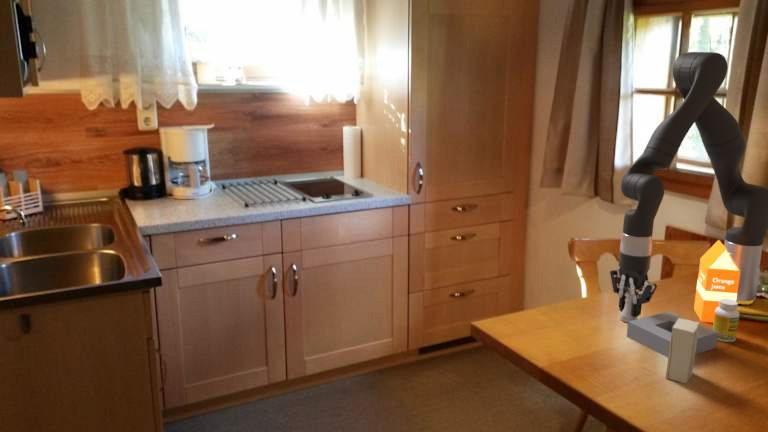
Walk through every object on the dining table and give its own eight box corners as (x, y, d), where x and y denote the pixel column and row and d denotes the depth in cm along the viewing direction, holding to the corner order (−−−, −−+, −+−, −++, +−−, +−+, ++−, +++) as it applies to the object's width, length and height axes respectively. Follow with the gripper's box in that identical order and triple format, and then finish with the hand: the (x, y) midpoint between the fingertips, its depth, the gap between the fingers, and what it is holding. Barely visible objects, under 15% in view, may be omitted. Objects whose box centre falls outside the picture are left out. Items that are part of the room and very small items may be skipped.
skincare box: (672, 367, 141) (678, 316, 138) (693, 373, 139) (700, 321, 136) (665, 378, 136) (671, 326, 133) (687, 384, 134) (694, 331, 131)
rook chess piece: (634, 325, 163) (637, 296, 161) (617, 320, 165) (620, 292, 163) (639, 319, 166) (642, 290, 164) (622, 315, 169) (625, 287, 167)
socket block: (666, 325, 162) (668, 311, 161) (715, 348, 150) (717, 332, 149) (626, 336, 156) (628, 321, 155) (674, 360, 144) (676, 344, 143)
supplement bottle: (718, 331, 159) (724, 295, 157) (740, 339, 155) (746, 302, 152) (706, 336, 156) (711, 300, 154) (728, 344, 152) (733, 307, 150)
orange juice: (724, 311, 171) (734, 240, 166) (733, 324, 163) (744, 250, 158) (693, 308, 173) (702, 238, 168) (700, 321, 165) (710, 248, 160)
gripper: (669, 256, 156) (661, 320, 161) (625, 241, 169) (619, 301, 173) (647, 260, 153) (640, 326, 158) (604, 245, 166) (598, 306, 170)
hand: (629, 313), depth 165 cm, fingers closed on rook chess piece, 3 cm apart
